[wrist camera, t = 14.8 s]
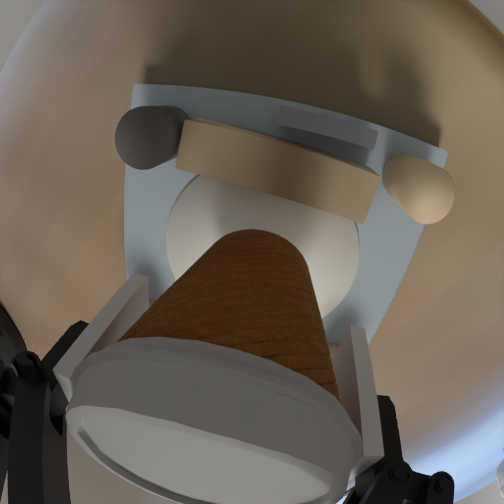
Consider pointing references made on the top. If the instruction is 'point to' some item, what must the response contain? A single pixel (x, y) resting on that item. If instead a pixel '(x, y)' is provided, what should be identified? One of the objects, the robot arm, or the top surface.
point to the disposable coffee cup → (222, 386)
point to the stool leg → (246, 159)
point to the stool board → (289, 205)
